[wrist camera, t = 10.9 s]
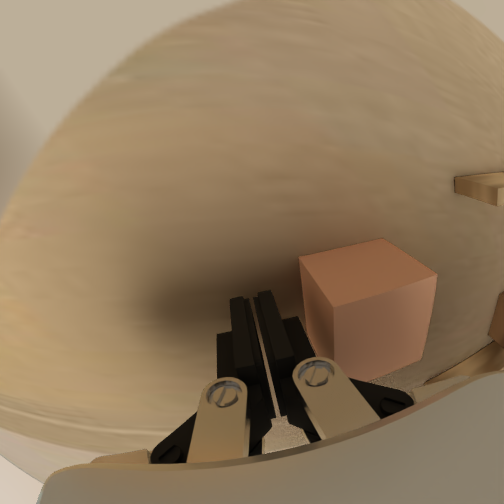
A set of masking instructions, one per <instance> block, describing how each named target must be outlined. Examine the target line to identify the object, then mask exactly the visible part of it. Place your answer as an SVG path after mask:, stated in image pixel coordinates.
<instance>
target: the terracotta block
mask: <svg viewBox="0 0 504 504" xmlns="http://www.w3.org/2000/svg"><path fill="white" fill-rule="evenodd" d="M299 265H300V274H301V282H302V291H303V300H304V309H305V319H306V329H307V335H308V337H309V339H310V341H311V343H312V346H313V348H314V350H315V352H316V354H317V357H325V358H329V359H331V360H333V361H334V362H335V363H336V364H337V365H338V366H339V367H340V368H341V370H342V371H343V372H344V373H345V375H346V376H347V377H349V378H353V379H356V380H360V381H364V382H368V381H371V380H373V379H376V378H379V377H381V376H384V375H386V374H389V373H391V372H394V371H396V370H398V369H401V368H403V367H405V366H408V365H410V364H412V363H414V362H417V361H419V360H421V358H422V355H423V351H424V347H425V343H426V338H427V334H428V329H429V325H430V320H431V314H432V309H433V303H434V297H435V291H436V284H437V276H438V274H436V273H435V272H433V271H432V270H431V269H429V268H428V267H426V266H425V265H423V264H422V263H420V262H419V261H417V260H416V259H414V258H413V257H411V256H410V255H408V254H407V253H405V252H404V251H402V250H400V249H399V248H397V247H396V246H394V245H393V244H391V243H389V242H388V241H386V240H385V239H383V238H381V239H376V240H372V241H368V242H363V243H359V244H354V245H350V246H346V247H341V248H337V249H332V250H328V251H324V252H319V253H315V254H310V255H305V256H301V257H299Z"/></svg>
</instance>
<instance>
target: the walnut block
mask: <svg viewBox="0 0 504 504" xmlns="http://www.w3.org/2000/svg"><path fill="white" fill-rule="evenodd" d="M488 335H489V336H490V337H492V338H493V339H494V340H495V341H496V342H497V343H498V344H499V345H500V346H501V347H502V348H503V349H504V292H502V293H501V294H499V298H498V302H497V306H496V310H495V313H494V317H493V320H492V324H491V327H490V330H489V333H488Z"/></svg>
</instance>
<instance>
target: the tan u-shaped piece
mask: <svg viewBox="0 0 504 504" xmlns="http://www.w3.org/2000/svg"><path fill="white" fill-rule="evenodd" d="M455 193H458V194H461V195H465V196H468V197H471V198H474V199H477V200H480V201H483V202H486V203H489V204H492V205H495V206H501V205H504V172H499V173H488V174H479V175H470V176H461V177H455ZM500 370H504V349H503V348H502V347H501V346H500V345H499V344H498V343H497V342H496V341H493V342H492V343H491V344H489V345H488V346H486V347H485V348H483V349H482V350H480V351H479V352H477V353H476V354H474V355H473V356H471V357H469V358H468V359H466V360H465V361H463V362H461V363H460V364H458V365H456V366H455V367H453V368H451V369H449V370H448V371H446V372H444V373H442V374H440V375H439V376H437V377H435V378H433V379H431V380H429V381H427V382H425V384H424V386H425V385H429V384H432V383H436V382H439V381H443V380H446V379H449V378H452V377H455V376H460V375H465V376H469V377H474V376H477V375H480V374H483V373H488V372H492V371H500Z"/></svg>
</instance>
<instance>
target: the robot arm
mask: <svg viewBox="0 0 504 504" xmlns="http://www.w3.org/2000/svg"><path fill="white" fill-rule="evenodd" d="M253 299H254V304H255V308H256V313H257V317H258V321H259V326H260V330H261V334H262V339H263V343H264V347H265V352H266V356H267V360H268V364H269V369H270V373H271V377H272V381H273V385H274V390H275V394H276V398H277V402H278V406H279V410H280V415H281V417H282V416H286V415H287V418H288V422H289V423H290V424H292V425H294V426H296V427H299V428H300V429H301V432H302V434H303V436H304V438H305V440H306V442H307V445H303V446H299V447H295V448H291V449H286V450H282V451H277V452H272V453H267V454H265V439H264V436H265V434H266V433H267V432H268V431H269V430H270V429H271V427H272V423H271V419H273V418H276V414H275V410H274V405H273V401H272V396H271V392H270V387H269V383H268V378H267V374H266V369H265V365H264V360H263V355H262V351H261V347H260V343H259V339H258V334H257V330H256V326H255V322H254V318H253V314H252V309H251V305H250V301H249V298H248V299H244V298H243V296H241V297H236V298H232V299H230V312H231V325H232V331H230V332H225V333H220V334H217V379H216V380H214V381H212V382H211V383H209V384H208V385H207V386H206V387H205V388H204V389H203V392H202V394H201V398H200V402H199V407H198V411H197V412H196V413H195V414H194V415H193V416H191V417H190V418H189V419H188V420H187V421H186V422H184V423H183V424H182V425H181V426H180V427H179V428H177V429H176V430H175V431H174V432H173V433H171V434H170V435H169V436H168V437H166V438H165V439H164V440H163V441H161V442H160V443H159V444H158V445H157V446H156V447H155V448H154V449H153V450H152V451H148V450H147V449H143V450H138V451H132V452H127V453H121V454H114V455H107V456H101V457H98V458H95V459H94V460H93V461H92V462H91V463H88V464H79V465H74V466H70V467H66V468H63V469H60V470H58V471H56V472H54V473H52V474H51V475H50V476H49V477H48V478H47V480H46V481H45V483H44V485H43V487H42V489H41V492H40V494H39V497H38V500H37V503H36V504H504V370H500V371H492V372H488V373H483V374H480V375H477V376H474V377H469V376H465V375H460V376H455V377H452V378H449V379H446V380H443V381H439V382H436V383H432V384H429V385H425V386H421V387H417V388H414V389H412V391H411V392H409V393H406V392H403V391H400V390H397V389H393V388H388V387H384V386H380V385H376V384H372V383H368V382H364V381H360V380H356V379H353V378H349V377H347V376H346V375H345V373H344V372H343V371H342V370H341V368H340V367H339V366H338V365H337V364H336V363H335V362H334V361H333V360H331V359H329V358H325V357H316V355H315V353H314V351H313V349H312V347H311V344H310V342H309V340H308V338H307V335H306V333H305V331H304V329H303V327H302V324H301V322H300V320H299V318H298V317H297V316H295V317H291V318H287V319H283V320H282V319H281V317H280V314H279V311H278V308H277V306H276V303H275V300H274V297H273V294H272V292H271V290H268V291H263V292H259V293H258V296H257V297H253Z"/></svg>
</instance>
